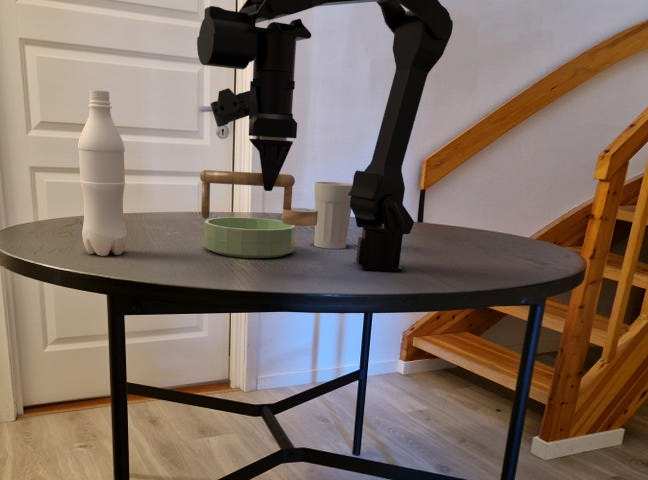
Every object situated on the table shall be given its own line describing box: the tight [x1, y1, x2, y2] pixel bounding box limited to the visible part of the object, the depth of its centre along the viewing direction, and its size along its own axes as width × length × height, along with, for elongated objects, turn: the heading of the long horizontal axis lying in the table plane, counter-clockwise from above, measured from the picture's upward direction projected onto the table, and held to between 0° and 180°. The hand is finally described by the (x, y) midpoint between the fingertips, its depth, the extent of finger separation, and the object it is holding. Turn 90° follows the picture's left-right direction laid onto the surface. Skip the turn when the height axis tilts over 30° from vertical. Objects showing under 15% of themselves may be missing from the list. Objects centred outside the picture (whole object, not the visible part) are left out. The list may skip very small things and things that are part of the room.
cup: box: [313, 181, 353, 250], centre depth 120 cm, size 8×8×12 cm
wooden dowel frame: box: [199, 169, 318, 227], centre depth 90 cm, size 18×5×7 cm, turn 92°
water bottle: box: [77, 89, 128, 257], centre depth 99 cm, size 7×7×25 cm
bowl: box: [203, 216, 296, 259], centre depth 112 cm, size 16×16×5 cm
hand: (267, 190), depth 90 cm, fingers closed on wooden dowel frame
